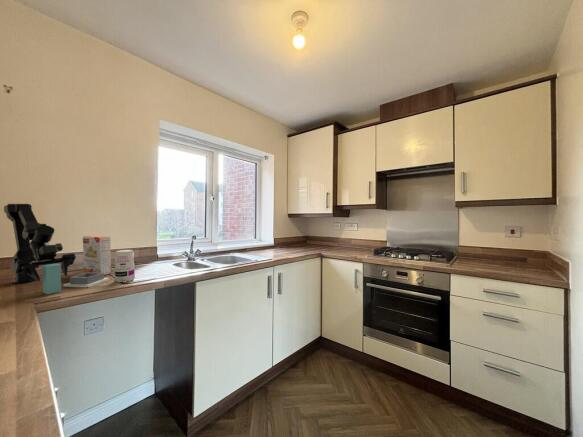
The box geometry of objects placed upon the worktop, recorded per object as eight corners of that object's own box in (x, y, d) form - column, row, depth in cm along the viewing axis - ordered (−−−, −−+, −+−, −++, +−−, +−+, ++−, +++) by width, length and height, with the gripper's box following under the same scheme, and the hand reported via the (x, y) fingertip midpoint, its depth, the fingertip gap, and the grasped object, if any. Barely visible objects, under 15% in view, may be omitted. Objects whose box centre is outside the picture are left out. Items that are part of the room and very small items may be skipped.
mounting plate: (63, 286, 115) (63, 278, 115) (86, 279, 127) (86, 271, 127) (88, 287, 115) (88, 278, 114) (109, 279, 127) (109, 272, 126)
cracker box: (83, 273, 138) (82, 235, 137) (95, 271, 143) (94, 234, 142) (100, 276, 133) (98, 237, 132) (111, 273, 138) (110, 236, 137)
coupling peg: (43, 293, 107) (42, 265, 106) (56, 290, 110) (55, 263, 110) (47, 295, 104) (46, 266, 104) (61, 292, 108) (60, 264, 108)
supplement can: (131, 277, 131) (130, 248, 131) (137, 280, 126) (136, 250, 126) (112, 280, 125) (112, 250, 124) (118, 284, 120) (117, 253, 119)
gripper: (15, 240, 100) (26, 271, 95) (73, 235, 116) (85, 262, 112) (9, 257, 104) (20, 288, 99) (66, 251, 121) (77, 277, 116)
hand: (53, 278), depth 106 cm, fingers open, 8 cm apart
